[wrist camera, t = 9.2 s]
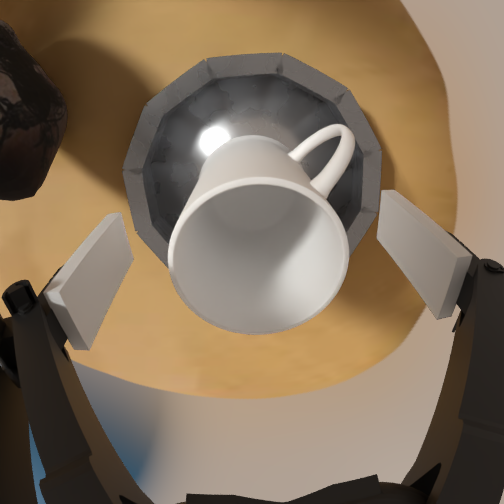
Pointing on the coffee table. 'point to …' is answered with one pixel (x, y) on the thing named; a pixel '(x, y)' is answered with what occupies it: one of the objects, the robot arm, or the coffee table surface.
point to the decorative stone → (26, 120)
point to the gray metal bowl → (241, 124)
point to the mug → (261, 235)
